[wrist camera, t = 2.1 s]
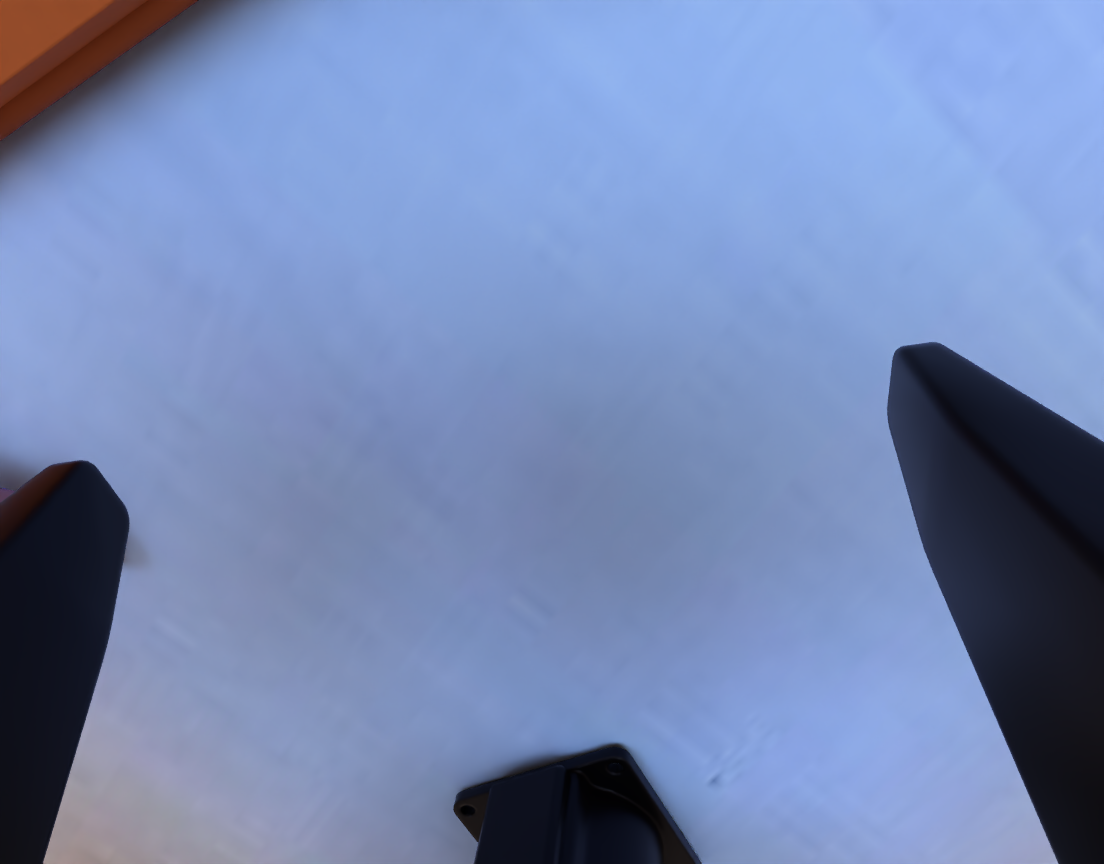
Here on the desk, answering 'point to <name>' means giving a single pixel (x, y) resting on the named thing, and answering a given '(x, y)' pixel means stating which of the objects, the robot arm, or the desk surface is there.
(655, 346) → the desk surface
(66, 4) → the flat square box
